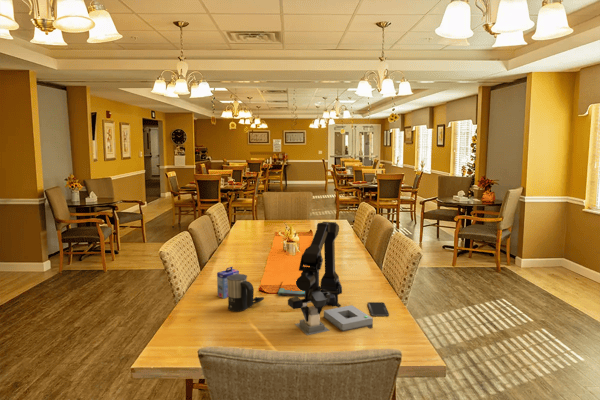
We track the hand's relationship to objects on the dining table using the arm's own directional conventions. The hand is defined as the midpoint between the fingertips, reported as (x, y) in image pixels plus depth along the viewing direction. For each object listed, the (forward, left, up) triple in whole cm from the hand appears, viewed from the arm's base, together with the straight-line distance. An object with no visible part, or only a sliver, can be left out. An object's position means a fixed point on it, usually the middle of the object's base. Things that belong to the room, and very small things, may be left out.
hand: (311, 320), depth 182 cm
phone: (-6, +36, -4) cm, 37 cm away
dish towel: (-48, +15, -5) cm, 50 cm away
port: (+1, +16, -4) cm, 16 cm away
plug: (0, 0, -3) cm, 3 cm away
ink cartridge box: (-54, -19, -4) cm, 57 cm away
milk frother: (-36, -16, -4) cm, 40 cm away
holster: (0, 0, -4) cm, 4 cm away
